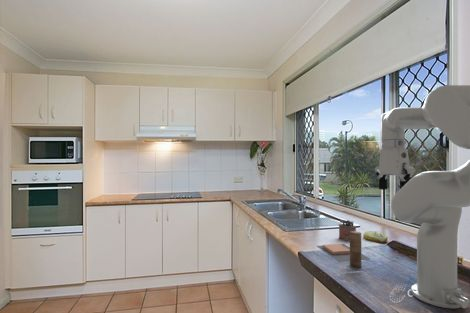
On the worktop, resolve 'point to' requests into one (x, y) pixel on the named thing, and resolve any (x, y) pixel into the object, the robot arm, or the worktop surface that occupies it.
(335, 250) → the tile
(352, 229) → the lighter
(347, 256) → the mat
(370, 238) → the decorated donut
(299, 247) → the worktop surface
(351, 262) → the brown wooden block
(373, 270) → the worktop surface
